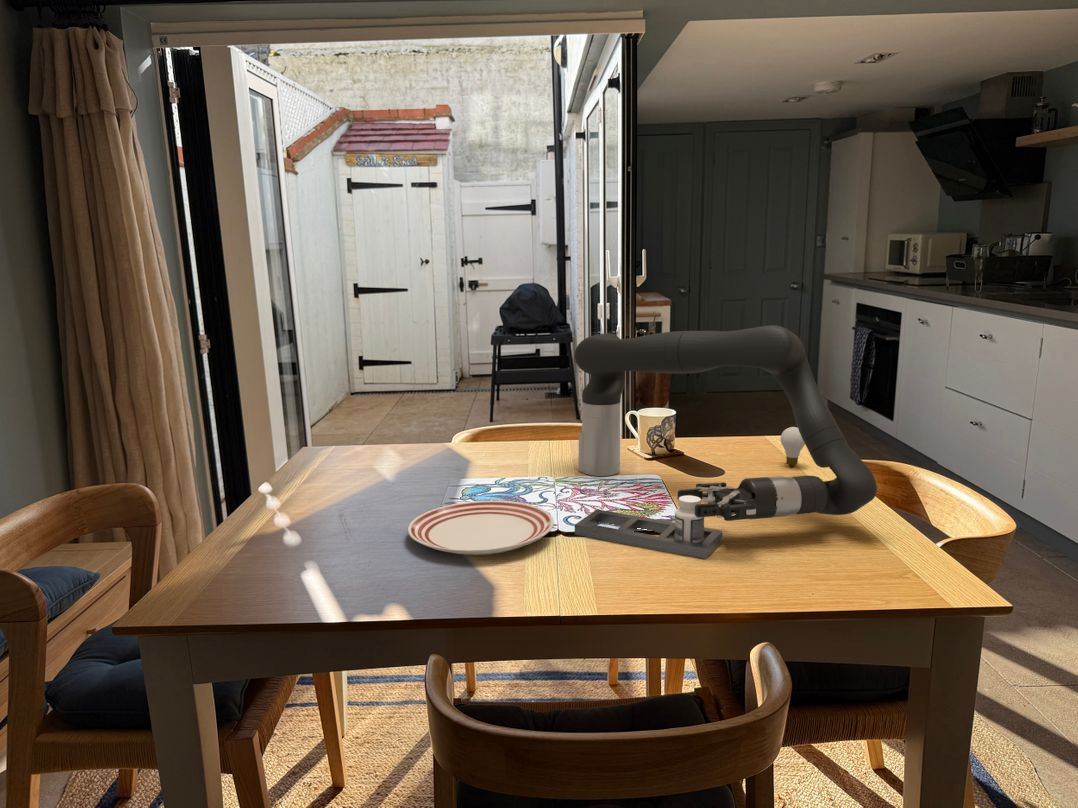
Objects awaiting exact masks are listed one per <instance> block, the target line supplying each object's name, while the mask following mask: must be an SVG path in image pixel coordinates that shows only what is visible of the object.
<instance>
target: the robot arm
mask: <svg viewBox="0 0 1078 808" xmlns="http://www.w3.org/2000/svg"><path fill="white" fill-rule="evenodd" d="M574 360H575V363H576V365H577V366H578V367H577V368H579V369H581V371H583V372H584V373H586V374H589V375H590V379H589V380H588V383H587V384H586V385H585V387H584V388H583V390H582V393H581V432H579V433H578V472H581V473H583V474H586V475H589V476H596V477H608V476H615V475H617V474H619V473H620V472H621V422H622V421H621V419H622V418H621V413H622V412H621V407H622V405H621V404H622V402H621V401H622V400H621V399H622V394H623V392H624V389H625V382H626V380H625V379H626V372H639V373H640V372H641V373H651V374H653V373H654V374H655V373H657V374H697V373H703V372H707V371H712V370H714V369H717V368H722V367H747V368H749V367H750V368H756V369H757V368H758V369H761V370H764V371H766V372H768V373H770V374H771V375H772V376H773V377H774V378H775V380H776V381H777V383H779V385H780V387H781V388H782V389H783V392H784V393H785V395H786V397H787V399H788V401H789V404H790V405H791V408H792V412H793V416H794V421H795V423H796V426H797V428H798V429H799V432H800V434H801V437H802V439H803V441H804V443H805V445H804V446H805V447H806V448H807V450H808V453H809V454H810V456H811V458H812V459H811V460H813V462H814V464H815V465H816V466H817V467H819V468H823V469H826V468H829V469H830V470H831V472H832V473H833V474H834V475H835V478H833V479H832V480H831V479H830V480H825V481H824V480H823V479H822V478H820V477H818V476H816V475H797V476H785V475H783V476H781V475H776V476H775V475H774V476H764V477H761V476H759V477H747V478H744V479H742V480H741V482H740V484H739V485H738V487H737V488H735V487H733V486H727V483H726V482H711V483H710V482H708V483H697V484H695V488H687V489H679V490H678V491H677V494H676V495H677V501H679V497H681V496H688V495H689V496H696V497H699V498H700V499H701V502H703V503H701V504H697V505H695V516H696V517H704V518H710V517H716V518H719V519H723V520H724V521H726V522H730V521H731V522H732V521H740V520H761V519H772V518H773V519H774V518H783V517H788V516H794V515H806V514H813V513H817V514H821V515H831V516H844V515H848V514H852V513H855V512H856V511H858V510H860V509H861V508H863V507H864V506H866V505H867V504H869V503H870V502H871V501H873V500H874V499H875V498H876V496H877V493H878V486H877V481H876V478H875V476H874V474H873V472H872V470H871V469H870V468H869V467H868V465H866V464H865V462H864V461H863V460H862V459H861V458H860V456H859V455H858V454H856V452H855V451H854V450H853V449H852V448H851V447H850V446H849V445H848V442H847V441H846V438H845V436H844V435H843V433H842V431H841V429H840V426H838V424H837V421H836V419H835V418H834V416H833V414H832V412H831V411H830V409H829V407H828V405H827V403H826V402H825V399H824V398H823V396H822V394H821V392H820V389H819V387H818V385H817V383H816V380H815V378H814V375H813V372H812V369H811V366H810V363H809V360H808V357H807V353H806V350H805V347H804V345H803V341H801V338H800V337H798V336H797V334H795V333H794V332H792V331H790V330H789V329H787V328H786V327H783V326H780V325H773V324H771V325H764V326H762V325H761V326H756V327H750V328H745V329H744V328H743V329H738V330H729V331H728V330H727V331H726V330H725V331H723V330H722V331H721V330H681V331H679V330H678V331H676V330H675V331H665V332H659V333H653V334H652V333H651V334H646V335H642V336H638V337H632V338H621V337H619V336H618V335H616V334H614V333H600V334H596V335H591V336H588V337H586V338H584V339H583V340H581V341H580V342H579V343H578V345H577V346H576V348H575V351H574ZM704 492H705V493H704ZM704 502H705V503H704Z"/></svg>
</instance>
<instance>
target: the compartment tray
mask: <svg viewBox="0 0 1078 808" xmlns="http://www.w3.org/2000/svg"><path fill="white" fill-rule="evenodd" d="M599 522H602V523H601V524H605V523H609V524H608V525H611V524H614V525H613V526H616V525H620V526H618V528H614V527H609V526H603V525H599V524H600V523H599ZM598 523H599V524H598ZM637 528H641V529H647V530H652V531H655V532H654V533H656V532H657V533H656V534H659V535H654V534H653V535H652V534H647V533H642V532H637V530H638V529H637ZM636 529H637V530H636ZM635 530H636V531H635ZM634 531H635V532H634ZM723 532H724V531H723V530H722V529H715V528H710V527H705V526H704V541H703V542H702V543H701V544H699V543H693V542H687V541H682V540H676V539H675V521H673V522H672V521H668V520H662V519H656V518H652V517H651V518H650V517H645V516H639V515H638V516H637V515H634V514H633V515H632V514H626V513H621V512H616V511H608V510H603V509H602V510H601V509H595V510H593V511H592V512H591V513H589V514H588V515H587V516H585V517H583V518H582V519H581V520H579V521H578V522H576V523H575V524H574V536H579V537H583V538H584V537H585V538H590V539H596V540H600V541H607V542H611V543H616V544H617V543H618V544H620V545H621V544H622V545H626V546H627V545H628V546H632V547H636V548H637V547H638V548H643V549H644V548H645V549H648V550H654V551H658V552H659V551H660V552H665V553H669V554H675V555H680V556H681V555H682V556H686V557H691V558H696V559H702V560H707V559H708V558H709V556H710V555H712V554H713V552H714V551H715V550H716V548H717V547H718V546H719V545H720V543H722V542H723Z"/></svg>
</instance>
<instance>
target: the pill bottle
mask: <svg viewBox="0 0 1078 808" xmlns="http://www.w3.org/2000/svg"><path fill="white" fill-rule="evenodd" d="M677 501H678V500H677ZM677 503H678V504H677V505H678V508H677V509H676V510H675V512H674V522H675V539H676V540H682V541H687V542H693V543H699V544H701V543H702V542H703V541H704V527H705V517H696V516H695V505H697V504H702V501H701V499H700V498H699V497H696V496H689V495H688V496H681V497H679V501H678V502H677Z"/></svg>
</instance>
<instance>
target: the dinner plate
mask: <svg viewBox="0 0 1078 808" xmlns="http://www.w3.org/2000/svg"><path fill="white" fill-rule="evenodd" d="M554 523H555V520H554V518H553V516H552V515H551V513H549V512H548V511H546V510H545V509H544V508H541V507H538V506H535V505H532V504H530V503H529V504H528V503H523V502H519V501H518V502H517V501H509V500H476V501H475V500H474V501H467V502H466V501H465V502H459V503H452V504H448V505H444V506H443V505H442V506H440V507H437V508H434V509H431V510H429V511H426V512H424V513H422V514H420V515H418V516H417V517H415V518H414V519H413V520H411V522H410V523H409V524H408V527H407V534H408V535H409V538H411V539H412V540H413V541H415V542H417V543H419V544H421V545H423V546H425V547H428V548H431V549H433V550H435V551H436V550H437V551H441V552H445V553H449V554H450V553H451V554H458V555H466V556H488V555H496V554H500V553H501V554H502V553H506V552H509V551H513V550H516V549H519V548H522V547H525V546H527V545H530V544H532V543H534V542H537V541H538V540H540V539H542V538H543V537H545V536H546V535H547V534H549V532H550V531H551V530H552V529H553V527H554Z"/></svg>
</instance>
